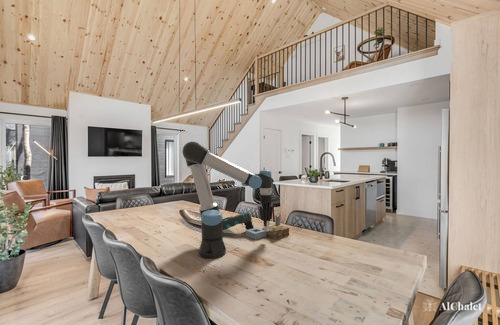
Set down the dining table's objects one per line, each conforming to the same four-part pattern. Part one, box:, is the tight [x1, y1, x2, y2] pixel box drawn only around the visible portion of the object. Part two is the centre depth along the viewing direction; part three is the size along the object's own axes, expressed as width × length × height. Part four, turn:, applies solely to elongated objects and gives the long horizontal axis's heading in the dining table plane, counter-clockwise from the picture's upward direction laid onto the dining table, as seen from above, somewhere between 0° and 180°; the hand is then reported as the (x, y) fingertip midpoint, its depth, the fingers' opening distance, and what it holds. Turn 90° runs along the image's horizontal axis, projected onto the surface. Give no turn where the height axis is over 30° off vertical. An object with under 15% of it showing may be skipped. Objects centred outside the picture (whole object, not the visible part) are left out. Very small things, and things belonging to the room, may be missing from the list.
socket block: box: [261, 224, 290, 240], centre depth 168 cm, size 14×12×5 cm
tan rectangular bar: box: [273, 224, 283, 231], centre depth 162 cm, size 7×2×2 cm, turn 128°
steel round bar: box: [274, 214, 281, 226], centre depth 169 cm, size 3×3×13 cm
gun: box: [222, 211, 255, 231], centre depth 177 cm, size 7×29×15 cm, turn 88°
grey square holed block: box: [245, 227, 267, 241], centre depth 166 cm, size 10×10×4 cm
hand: (266, 230), depth 156 cm, fingers closed
